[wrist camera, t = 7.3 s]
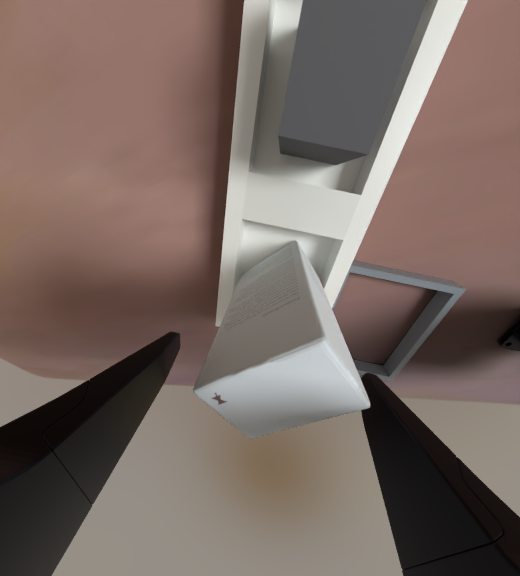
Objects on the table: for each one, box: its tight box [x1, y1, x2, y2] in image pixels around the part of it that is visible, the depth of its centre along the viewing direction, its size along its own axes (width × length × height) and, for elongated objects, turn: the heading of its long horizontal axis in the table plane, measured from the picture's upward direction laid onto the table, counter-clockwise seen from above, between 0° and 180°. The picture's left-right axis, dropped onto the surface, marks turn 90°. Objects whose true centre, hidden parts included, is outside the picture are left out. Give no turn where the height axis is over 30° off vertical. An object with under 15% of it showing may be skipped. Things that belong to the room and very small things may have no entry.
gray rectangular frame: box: [332, 260, 466, 381], centre depth 20 cm, size 10×12×2 cm
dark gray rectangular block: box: [278, 0, 427, 165], centre depth 10 cm, size 4×6×6 cm, turn 170°
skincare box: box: [193, 241, 370, 439], centre depth 13 cm, size 6×4×12 cm
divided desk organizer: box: [215, 0, 468, 327], centre depth 15 cm, size 10×24×2 cm, turn 170°
